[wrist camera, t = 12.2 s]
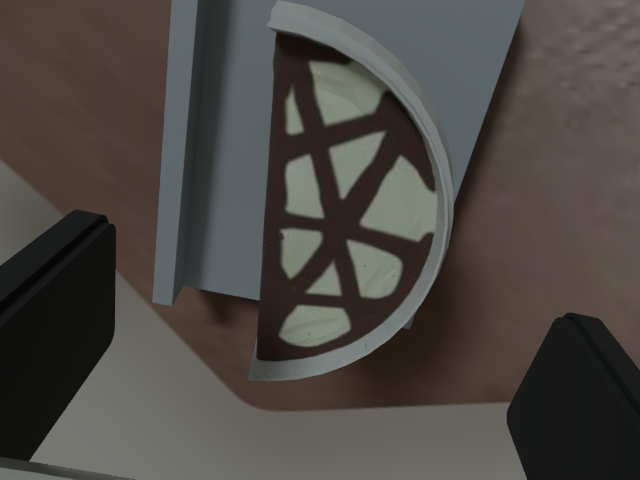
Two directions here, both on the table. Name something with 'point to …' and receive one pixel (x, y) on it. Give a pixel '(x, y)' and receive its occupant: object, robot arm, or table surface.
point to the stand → (256, 107)
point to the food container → (345, 198)
